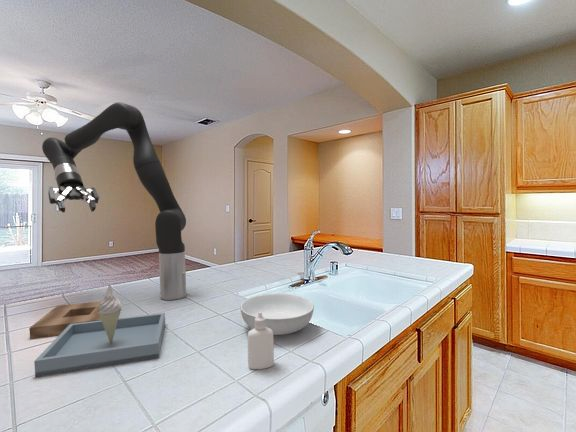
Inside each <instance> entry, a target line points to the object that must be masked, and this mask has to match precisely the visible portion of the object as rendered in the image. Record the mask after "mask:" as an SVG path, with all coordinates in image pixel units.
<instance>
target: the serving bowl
mask: <svg viewBox="0 0 576 432" xmlns="http://www.w3.org/2000/svg"><path fill="white" fill-rule="evenodd" d="M314 306H315V305H314V304H313V302H312V301H311V300H310V299H308V298H305V297H303V296H300V295H296V294H289V293H266V294H261V295H260V294H259V295H256V296H253V297H252V296H251V297H250V298H247V299H245V300H244V301H243V302H241V304H240V314H241V318H242V319H243V322H244V323H245V324H246V325H247V326H248V327H249V328H250V329H251V330H252V329H254V328H255V318H256V317H258V313H259V312H262V316H263V317H265V318H266V327H267V328H270V329H271V330H272V332H273V336H279V335H280V336H281V335H288V334H293V333H296V332H299V331H300V330H302V329H303V328H305V327H306V326H308V324H309V323H310V322H311V319H312V317H313V315H314V309H315V307H314Z"/></svg>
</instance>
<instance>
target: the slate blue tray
mask: <svg viewBox="0 0 576 432" xmlns="http://www.w3.org/2000/svg"><path fill="white" fill-rule="evenodd" d="M165 327H166V313H165V312H162V313H161V312H160V313H152V314H145V315H144V314H143V315H136V316H135V315H134V316H126V317H120V318H118V322H117V326H116V330H115V333H114V337H113V341H112V342H111V343H110V341H109V339H108V336H107V333H106V331H105V328H104V326H103V323H102V320H100V321H91V322H83V323H74V324H70V325H69V326H68V327H67V328H66V329H65V330H64V331H63V332H62V333H61V334H60V335H57V336H56V338H55V339H54V340H53V341H52V342H51V343H50V344H49V345H48V346H47V348H45V350H43V352H41V353H40V354H39V356H38V357H36V359H35V360H34V362H33V363H34V376H35V377H34V378H38V377H39V378H40V377H45V376H52V375H57V374H64V373H70V372H71V373H72V372H76V371H83V370H89V369H95V368H104V367H108V366H116V365H121V364H127V363H133V362H139V361H140V362H141V361H148V360H152V359H159V358H160V354H161V347H162V343H163V340H164V339H163V338H164V333H165Z"/></svg>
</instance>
